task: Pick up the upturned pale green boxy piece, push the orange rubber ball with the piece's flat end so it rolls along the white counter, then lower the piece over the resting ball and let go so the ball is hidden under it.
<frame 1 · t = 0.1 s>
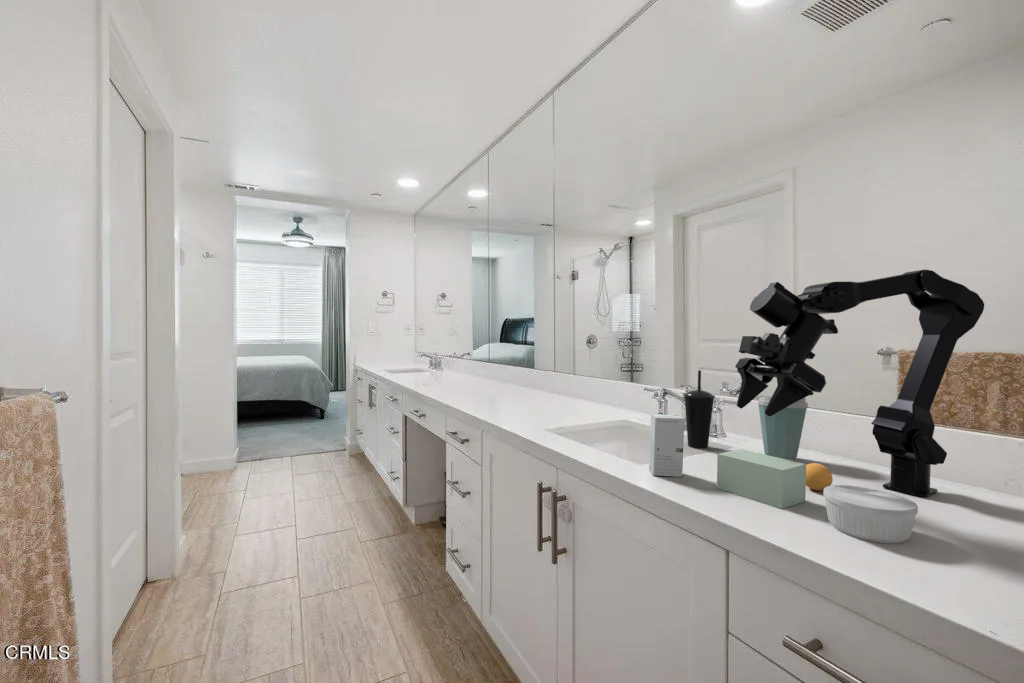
hand: (752, 410, 85), 15 cm above the counter, tool tilted 35°, fingers open, 9 cm apart
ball: (816, 476, 86), on the counter
pale green boxy piece: (759, 494, 83), on the counter
ramekin: (867, 532, 68), on the counter
skincare box: (665, 474, 95), on the counter
drinking cup: (697, 447, 119), on the counter
disposable coffee cup: (780, 458, 109), on the counter
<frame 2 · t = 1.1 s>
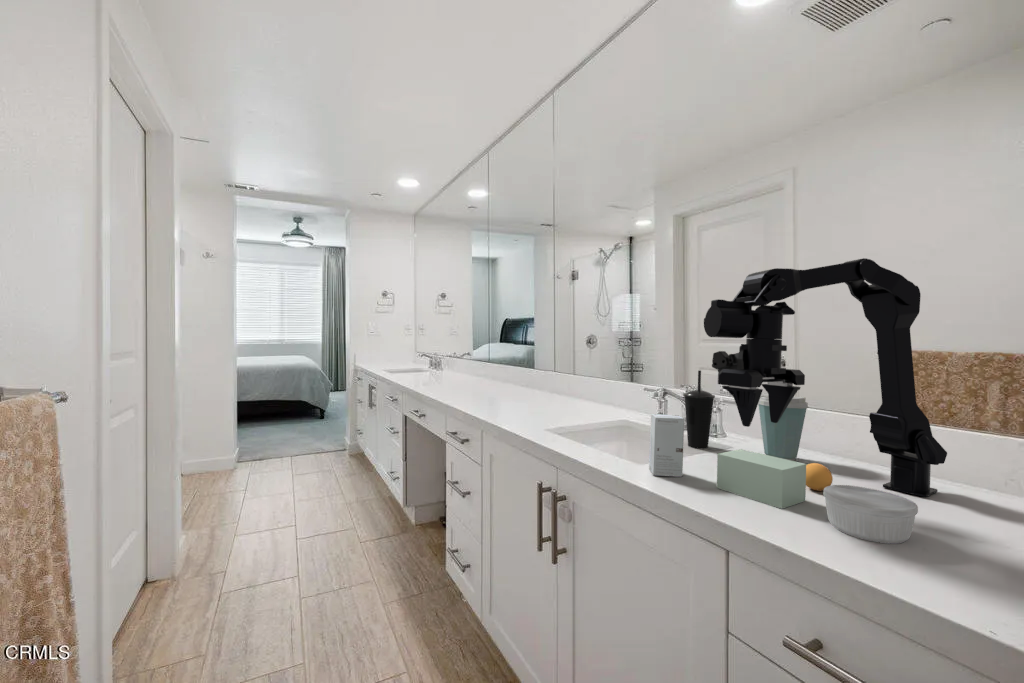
hand: (760, 424, 83), 13 cm above the counter, tool pointing down, fingers open, 9 cm apart
nothing on the counter moved.
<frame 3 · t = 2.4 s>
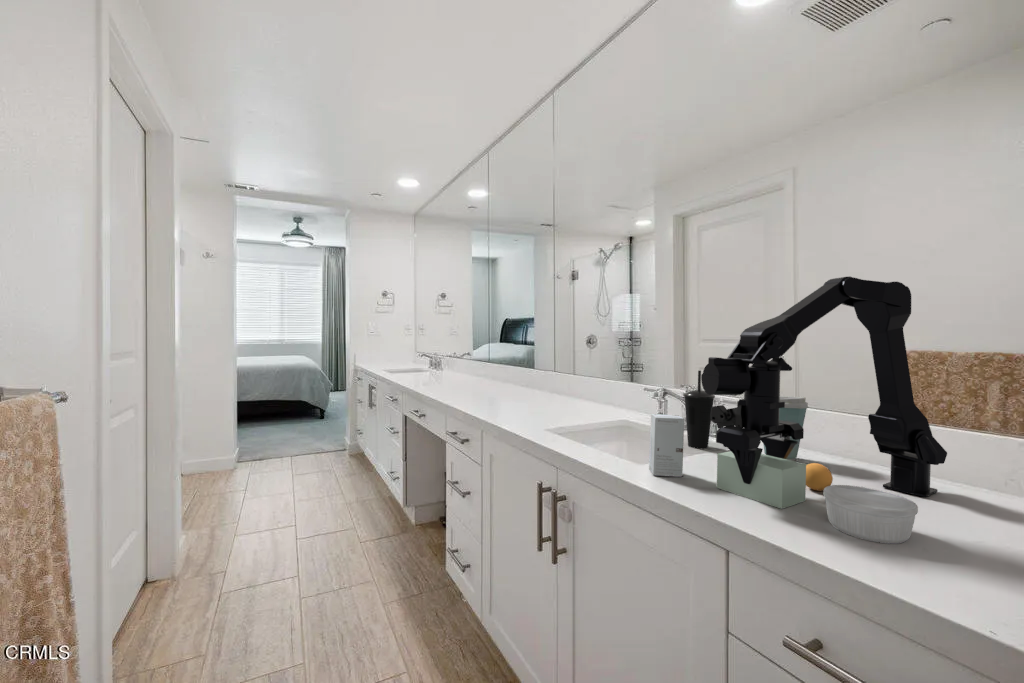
hand: (759, 480, 83), 3 cm above the counter, tool pointing down, fingers closed on pale green boxy piece, 8 cm apart
pale green boxy piece: (759, 494, 83), on the counter, touching gripper
everything else where it was.
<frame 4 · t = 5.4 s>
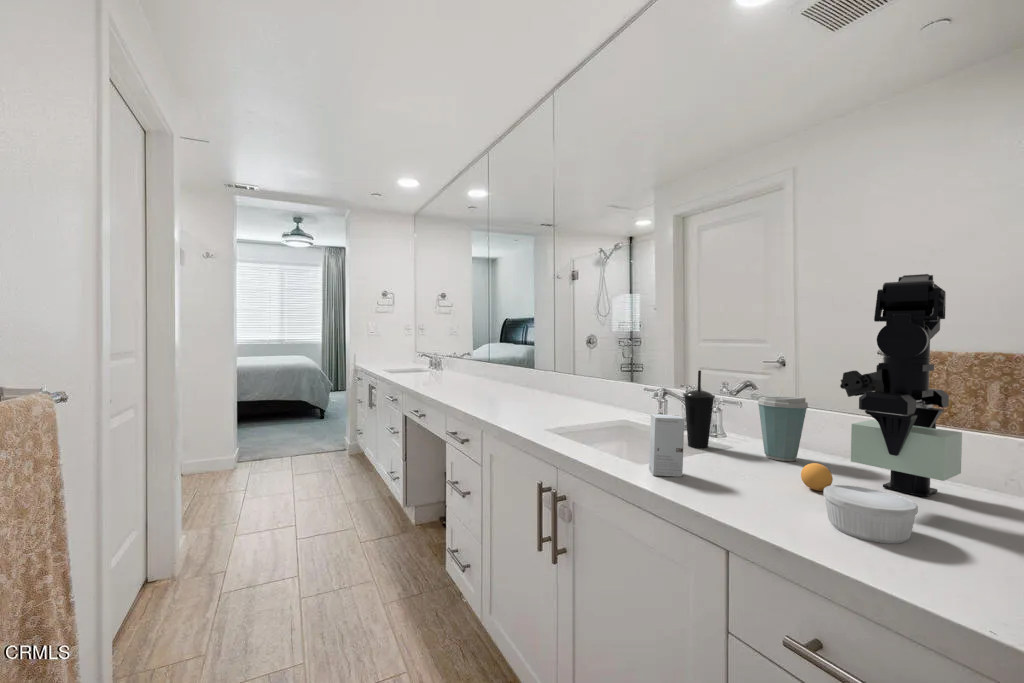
hand: (903, 451, 75), 10 cm above the counter, tool pointing down, fingers closed on pale green boxy piece, 8 cm apart
pale green boxy piece: (903, 467, 75), point 8 cm above the counter, touching gripper
everything else where it was.
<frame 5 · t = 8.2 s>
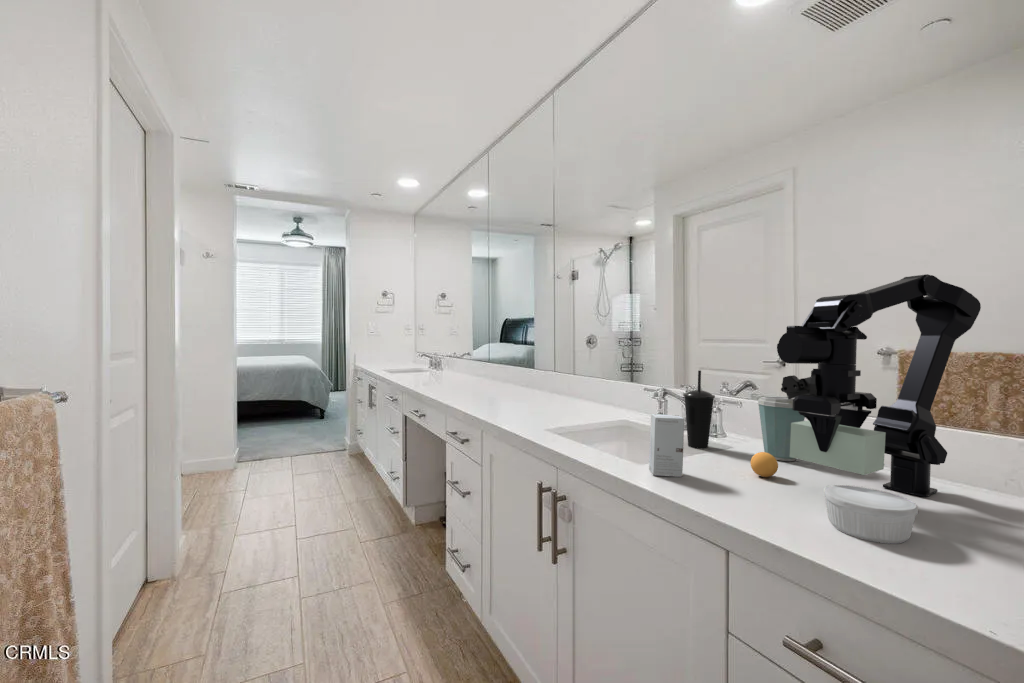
hand: (834, 448, 83), 8 cm above the counter, tool pointing down, fingers closed on pale green boxy piece, 8 cm apart
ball: (764, 464, 94), on the counter
pale green boxy piece: (834, 462, 83), point 6 cm above the counter, touching gripper
everything else where it was.
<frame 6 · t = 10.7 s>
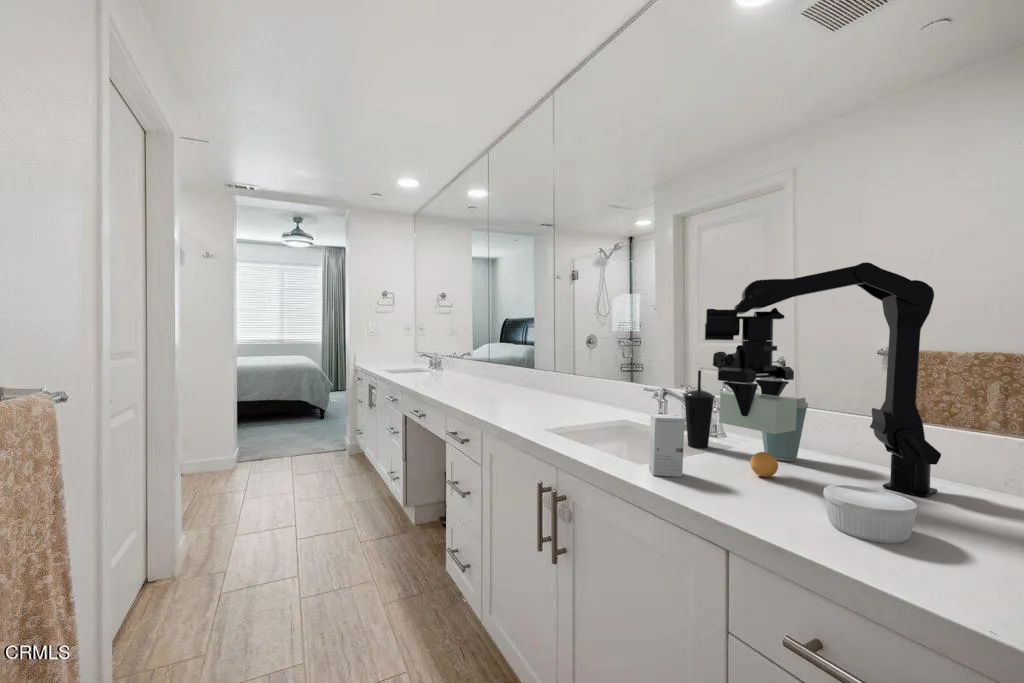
hand: (755, 414, 96), 12 cm above the counter, tool pointing down, fingers closed on pale green boxy piece, 8 cm apart
pale green boxy piece: (756, 426, 96), point 10 cm above the counter, touching gripper
everything else where it was.
when the fingers open (3 cm above the counter, at t = 13.1 s): pale green boxy piece stays where it is, on the counter.
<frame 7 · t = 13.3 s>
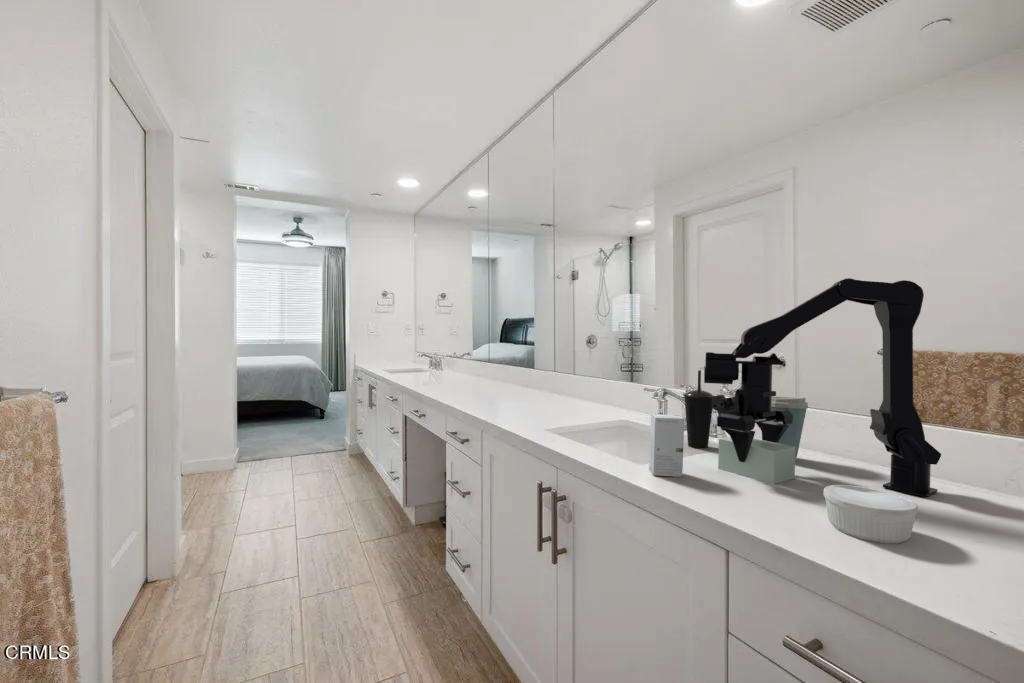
hand: (754, 459, 96), 3 cm above the counter, tool pointing down, fingers open, 9 cm apart
pale green boxy piece: (755, 473, 96), on the counter
everything else where it was.
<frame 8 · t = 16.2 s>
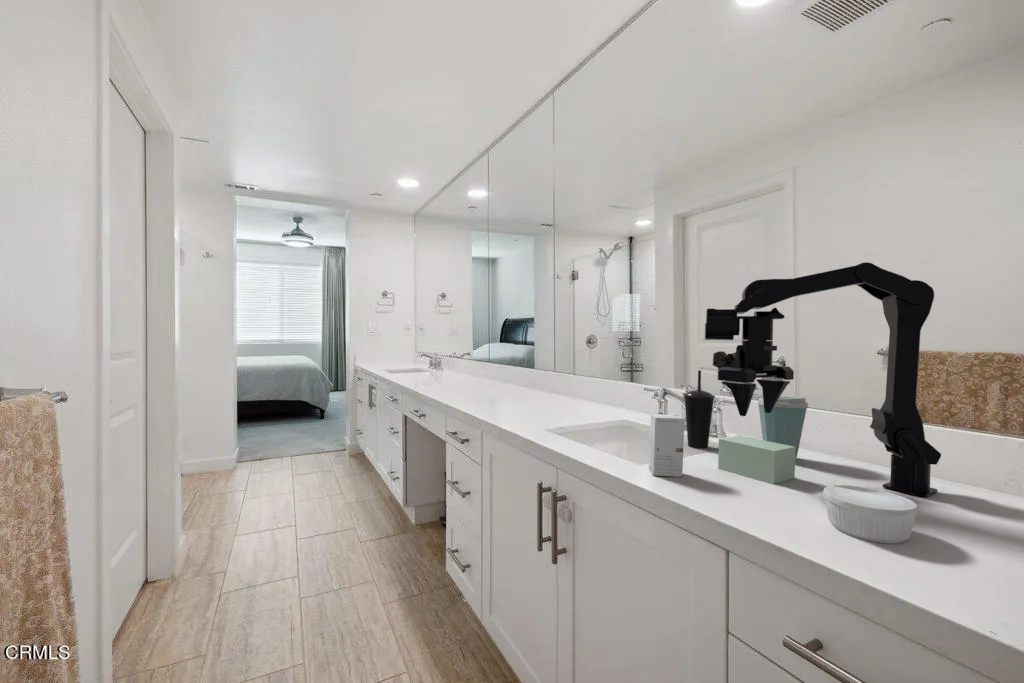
hand: (755, 414, 96), 12 cm above the counter, tool pointing down, fingers open, 9 cm apart
nothing on the counter moved.
at the end: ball 2.2 cm from the pale green boxy piece (horizontally); pale green boxy piece on the counter; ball moved 9.7 cm from its start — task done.
